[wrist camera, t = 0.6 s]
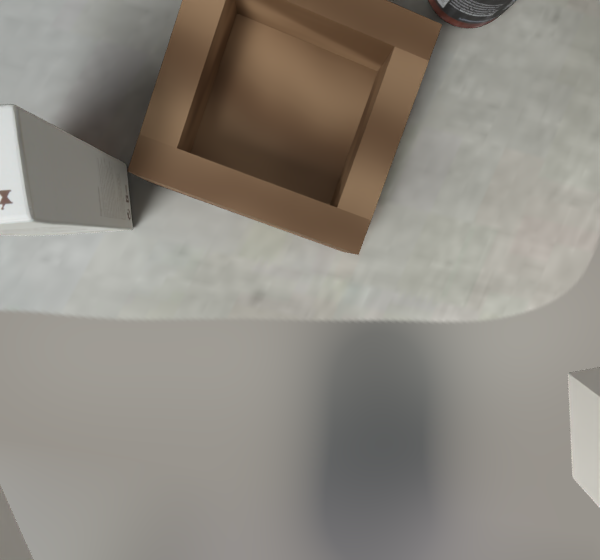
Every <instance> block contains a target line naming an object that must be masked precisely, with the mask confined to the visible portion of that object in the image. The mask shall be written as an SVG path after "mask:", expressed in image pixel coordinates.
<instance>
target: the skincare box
mask: <svg viewBox="0 0 600 560" xmlns="http://www.w3.org/2000/svg"><path fill="white" fill-rule="evenodd" d="M126 230H133V224H132V215H131V205H130V196H129V186H128V177H127V166H126V164H125V163H124V162H122V161H120V160H118V159H116V158H114V157H112V156H110V155H108V154H107V153H105V152H103V151H101V150H99V149H97V148H95V147H93V146H92V145H90V144H88V143H86V142H84V141H82V140H80V139H78V138H76V137H75V136H73V135H71V134H69V133H67V132H65V131H63V130H61V129H59V128H58V127H56V126H54V125H52V124H50V123H48V122H46V121H45V120H43V119H41V118H39V117H37V116H35V115H33V114H31V113H29V112H27V111H25V110H23V109H22V108H20V107H18V106H16V105H13V104H3V105H0V235H6V236H53V235H69V234H85V233H98V232H111V231H126Z"/></svg>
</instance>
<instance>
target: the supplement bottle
mask: <svg viewBox="0 0 600 560" xmlns="http://www.w3.org/2000/svg"><path fill="white" fill-rule="evenodd" d="M428 1H429V3H430V5H431V6H432V8H433V10H434V11H435V13H437V14H438V16H439V17H440V18H441V19H443V20H444V21H445V22H447V23H449V24H452V25H453V26H457V27H461V28H477V27H481V26H483V25H485V24H488V23H490V22H491V21H493V20H494V19H496V18H497V17H498V16H500V15H501V14H502V13H503V12H505V11H506V10H507V9H508V8H509V7H510V6H511V5H512V4H513V3H514V2H515V1H516V0H428Z"/></svg>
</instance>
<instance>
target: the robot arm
mask: <svg viewBox="0 0 600 560" xmlns="http://www.w3.org/2000/svg"><path fill="white" fill-rule="evenodd" d="M568 383H569V384H568V385H569V408H570V430H571V452H572V477H573V479H574V480H575V481H576V482H577V483H578V484H579V485H580V486H581V487H582V488H583V490H584V491H585V492H586V493H587V494H588V495H589V496H590V498H591V499H592V500H593V501H594V502H595V503H596V504H597V505H598V507H599V508H600V367H597V368H592V369H586V370H581V371H576V372H570V373H568ZM0 560H33V558H32V555H31V553H30V551H29V549H28V546H27V544H26V542H25V540H24V538H23V535H22V533H21V531H20V528H19V526H18V524H17V522H16V519H15V517H14V515H13V513H12V510H11V508H10V506H9V504H8V501H7V499H6V497H5V495H4V492H3V490H2V488H1V486H0Z"/></svg>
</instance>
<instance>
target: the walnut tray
mask: <svg viewBox="0 0 600 560" xmlns="http://www.w3.org/2000/svg"><path fill="white" fill-rule="evenodd" d="M441 27H442V24H440V23H438V22H435V21H433V20H431V19H429V18H426V17H424V16H422V15H419V14H417V13H415V12H412V11H410V10H408V9H406V8H403V7H401V6H399V5H396V4H394V3H392V2H389V1H387V0H182V3H181V7H180V10H179V13H178V16H177V19H176V22H175V25H174V28H173V31H172V34H171V37H170V41H169V44H168V47H167V50H166V53H165V56H164V59H163V62H162V65H161V68H160V71H159V75H158V78H157V81H156V84H155V87H154V90H153V93H152V96H151V99H150V102H149V105H148V109H147V112H146V115H145V118H144V121H143V124H142V127H141V130H140V133H139V136H138V139H137V143H136V146H135V149H134V152H133V155H132V158H131V161H130V164H129V167H128V170H127V171H128V172H130V173H132V174H134V175H136V176H138V177H140V178H142V179H144V180H146V181H148V182H151V183H154V184H156V185H159V186H162V187H165V188H167V189H170V190H173V191H176V192H179V193H181V194H184V195H187V196H190V197H192V198H195V199H198V200H201V201H204V202H206V203H209V204H212V205H215V206H217V207H220V208H223V209H226V210H229V211H231V212H234V213H237V214H240V215H242V216H245V217H248V218H251V219H254V220H256V221H259V222H262V223H265V224H267V225H270V226H273V227H276V228H279V229H281V230H284V231H287V232H290V233H292V234H295V235H298V236H301V237H304V238H306V239H309V240H312V241H315V242H318V243H320V244H323V245H326V246H329V247H331V248H334V249H337V250H340V251H343V252H347V253H352V254H358V255H359V252H360V249H361V246H362V244H363V241H364V238H365V235H366V233H367V230H368V227H369V224H370V222H371V219H372V216H373V213H374V211H375V208H376V205H377V202H378V200H379V197H380V194H381V191H382V189H383V186H384V183H385V180H386V178H387V175H388V172H389V169H390V167H391V164H392V161H393V159H394V156H395V153H396V150H397V148H398V145H399V142H400V139H401V137H402V134H403V131H404V128H405V126H406V123H407V120H408V117H409V115H410V112H411V109H412V106H413V104H414V101H415V98H416V95H417V93H418V90H419V87H420V84H421V82H422V79H423V76H424V73H425V71H426V68H427V65H428V62H429V60H430V57H431V54H432V51H433V49H434V46H435V43H436V40H437V38H438V35H439V32H440V29H441Z"/></svg>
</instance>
